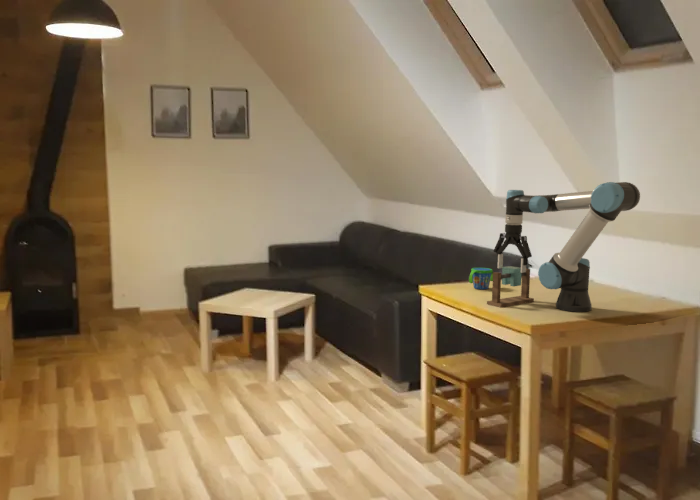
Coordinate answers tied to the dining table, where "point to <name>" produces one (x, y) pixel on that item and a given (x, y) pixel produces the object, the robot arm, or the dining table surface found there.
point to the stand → (512, 300)
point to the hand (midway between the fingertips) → (511, 270)
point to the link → (512, 276)
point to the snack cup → (481, 277)
